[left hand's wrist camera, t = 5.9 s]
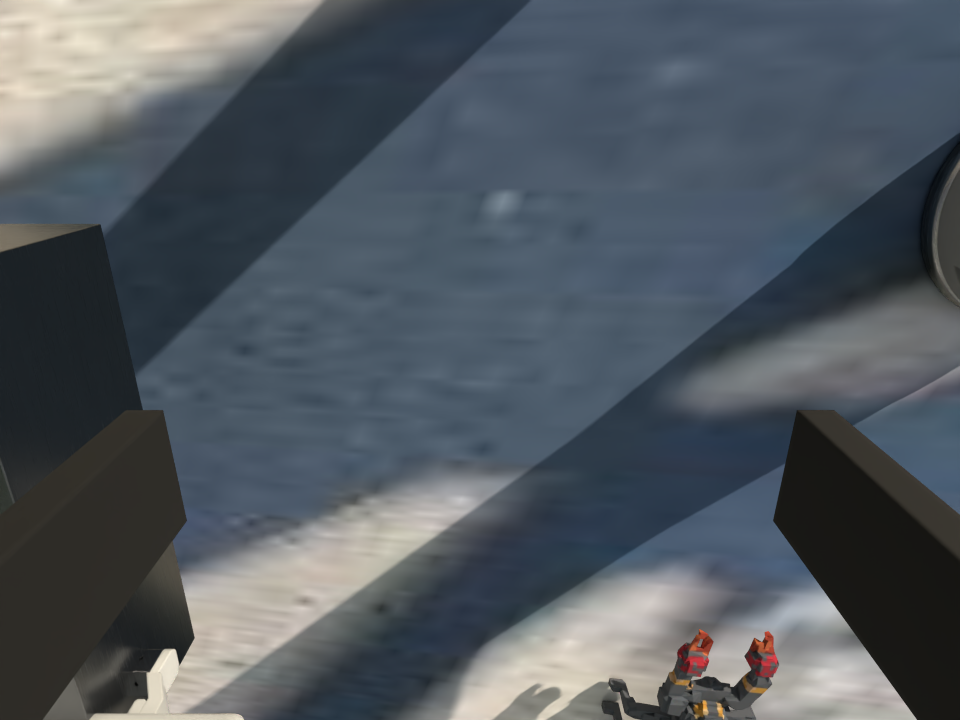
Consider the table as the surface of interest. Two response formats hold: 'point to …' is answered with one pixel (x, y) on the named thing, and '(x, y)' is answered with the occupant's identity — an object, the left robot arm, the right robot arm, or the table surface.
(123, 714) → the right robot arm
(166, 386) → the table surface
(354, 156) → the table surface
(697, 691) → the toy
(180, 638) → the bar
